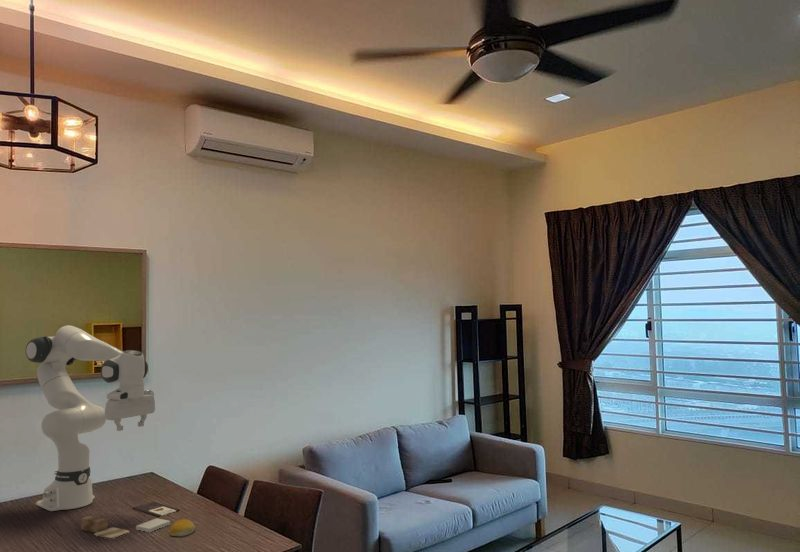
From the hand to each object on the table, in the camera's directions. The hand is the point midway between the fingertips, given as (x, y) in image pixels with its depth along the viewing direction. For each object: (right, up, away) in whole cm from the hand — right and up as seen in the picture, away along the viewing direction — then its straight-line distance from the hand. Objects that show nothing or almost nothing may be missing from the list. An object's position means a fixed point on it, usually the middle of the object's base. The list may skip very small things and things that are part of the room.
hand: (130, 428), depth 226 cm
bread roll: (+28, -31, -21) cm, 47 cm away
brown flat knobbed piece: (0, -31, -21) cm, 38 cm away
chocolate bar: (+8, -34, +3) cm, 35 cm away
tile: (+12, -31, -15) cm, 36 cm away
